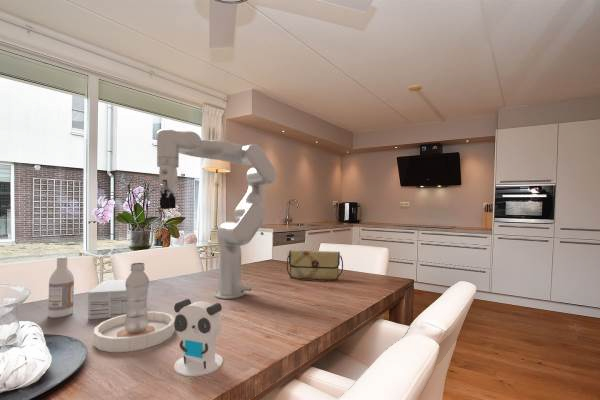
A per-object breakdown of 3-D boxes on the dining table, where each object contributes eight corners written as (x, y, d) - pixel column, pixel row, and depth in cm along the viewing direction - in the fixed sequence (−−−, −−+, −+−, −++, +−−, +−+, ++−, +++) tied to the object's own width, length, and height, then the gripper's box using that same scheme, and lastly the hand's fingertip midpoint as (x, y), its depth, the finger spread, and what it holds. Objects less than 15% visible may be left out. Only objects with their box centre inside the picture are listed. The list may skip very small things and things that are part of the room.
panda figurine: (161, 369, 75) (162, 306, 75) (193, 349, 86) (194, 293, 86) (203, 380, 71) (204, 313, 71) (231, 357, 82) (232, 299, 82)
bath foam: (70, 316, 109) (72, 258, 109) (45, 319, 106) (47, 259, 106) (74, 310, 115) (76, 255, 116) (51, 312, 112) (52, 256, 112)
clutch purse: (285, 280, 165) (285, 251, 165) (287, 277, 172) (287, 249, 172) (343, 282, 162) (343, 253, 162) (342, 279, 169) (342, 251, 169)
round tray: (181, 321, 106) (181, 310, 106) (163, 349, 85) (163, 336, 85) (113, 323, 103) (114, 312, 103) (78, 353, 82) (78, 340, 82)
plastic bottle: (123, 337, 90) (124, 266, 90) (124, 329, 96) (125, 262, 96) (148, 333, 93) (150, 265, 93) (148, 325, 99) (149, 261, 99)
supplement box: (102, 304, 123) (103, 280, 123) (140, 301, 127) (140, 278, 127) (86, 319, 107) (87, 291, 107) (130, 316, 110) (130, 289, 111)
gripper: (173, 160, 112) (173, 209, 112) (182, 165, 129) (183, 207, 129) (150, 160, 110) (150, 209, 110) (163, 165, 127) (163, 208, 127)
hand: (168, 208), depth 120 cm, fingers open, 9 cm apart
